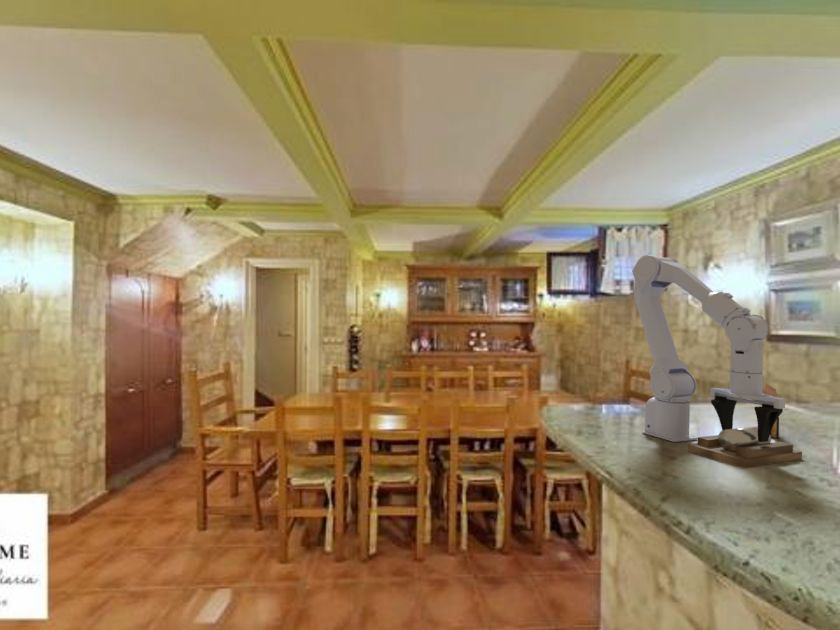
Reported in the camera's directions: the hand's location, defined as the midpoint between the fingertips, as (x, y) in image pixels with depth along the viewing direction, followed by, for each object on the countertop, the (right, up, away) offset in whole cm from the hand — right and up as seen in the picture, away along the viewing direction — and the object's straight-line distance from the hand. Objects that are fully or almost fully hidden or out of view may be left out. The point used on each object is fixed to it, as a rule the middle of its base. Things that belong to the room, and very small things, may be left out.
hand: (744, 436), depth 104 cm
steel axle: (0, 0, -1) cm, 1 cm away
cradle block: (0, -4, 0) cm, 4 cm away
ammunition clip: (+20, -5, +20) cm, 29 cm away
